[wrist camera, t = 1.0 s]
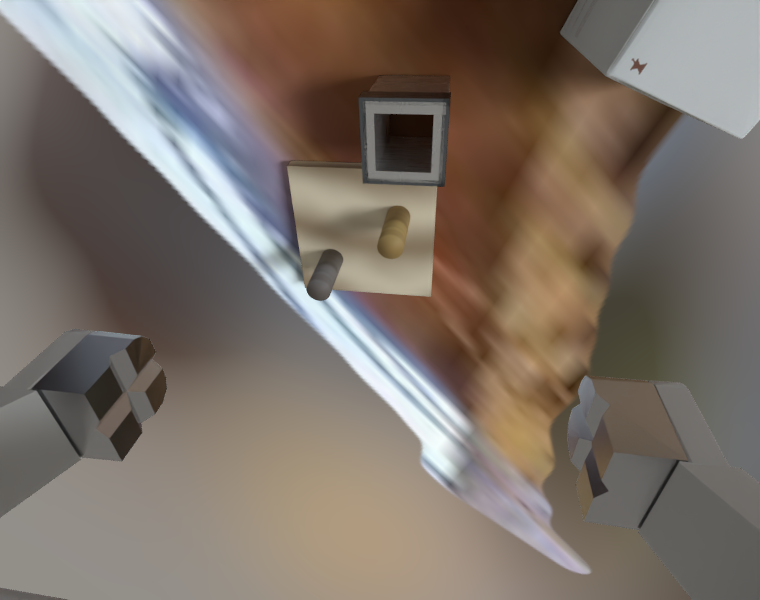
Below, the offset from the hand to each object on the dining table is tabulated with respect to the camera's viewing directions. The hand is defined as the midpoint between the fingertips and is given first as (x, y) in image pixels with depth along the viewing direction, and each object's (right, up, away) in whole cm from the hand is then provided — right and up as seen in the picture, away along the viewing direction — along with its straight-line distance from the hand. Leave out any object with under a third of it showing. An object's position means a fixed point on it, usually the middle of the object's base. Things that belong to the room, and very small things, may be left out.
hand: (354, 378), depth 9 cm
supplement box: (+17, +20, +20) cm, 33 cm away
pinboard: (-1, +8, +32) cm, 33 cm away
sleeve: (+3, +15, +26) cm, 30 cm away
